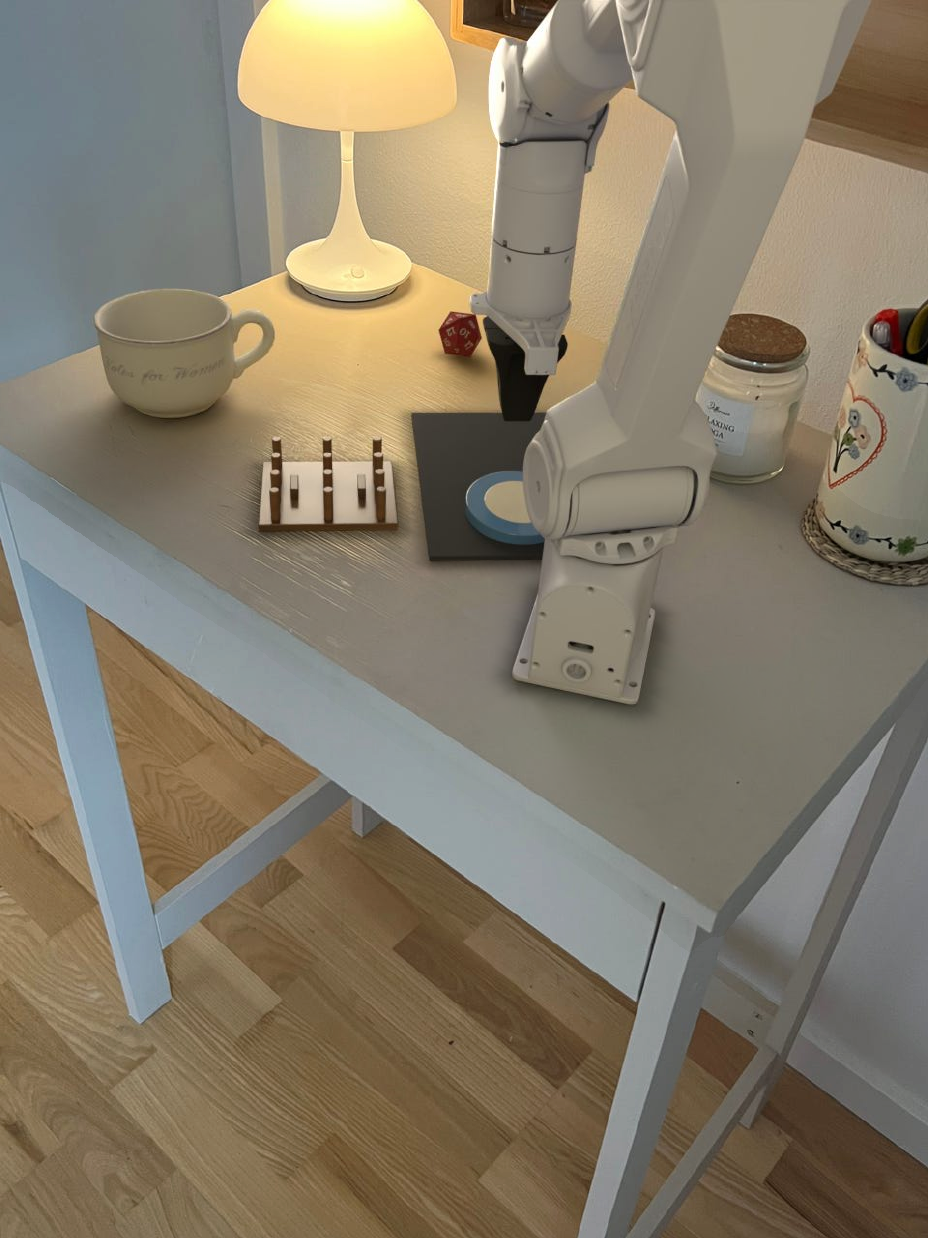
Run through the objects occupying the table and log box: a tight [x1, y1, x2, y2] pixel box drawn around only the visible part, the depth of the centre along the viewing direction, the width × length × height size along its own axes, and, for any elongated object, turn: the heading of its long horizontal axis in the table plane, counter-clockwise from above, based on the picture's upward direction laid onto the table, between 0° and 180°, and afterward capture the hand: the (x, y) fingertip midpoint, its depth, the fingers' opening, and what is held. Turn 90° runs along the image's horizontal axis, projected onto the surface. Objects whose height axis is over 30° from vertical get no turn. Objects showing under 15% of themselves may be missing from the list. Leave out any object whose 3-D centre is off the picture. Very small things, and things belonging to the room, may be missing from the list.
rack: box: [258, 436, 399, 532], centre depth 84 cm, size 8×10×3 cm
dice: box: [438, 311, 483, 358], centre depth 103 cm, size 4×4×4 cm
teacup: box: [93, 288, 276, 419], centre depth 93 cm, size 14×11×8 cm
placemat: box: [410, 412, 547, 562], centre depth 88 cm, size 20×14×1 cm
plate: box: [465, 471, 545, 545], centre depth 84 cm, size 1×8×8 cm
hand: (516, 416), depth 84 cm, fingers closed
